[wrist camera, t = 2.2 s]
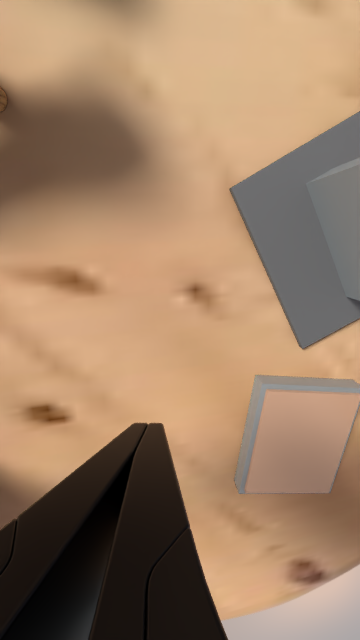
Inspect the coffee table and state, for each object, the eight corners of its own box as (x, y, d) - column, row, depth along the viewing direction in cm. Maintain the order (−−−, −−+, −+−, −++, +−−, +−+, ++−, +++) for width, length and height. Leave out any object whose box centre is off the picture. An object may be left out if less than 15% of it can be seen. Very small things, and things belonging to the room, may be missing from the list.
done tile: (317, 475, 24) (332, 496, 22) (232, 474, 23) (239, 497, 21) (348, 376, 21) (368, 390, 19) (252, 371, 20) (263, 386, 18)
